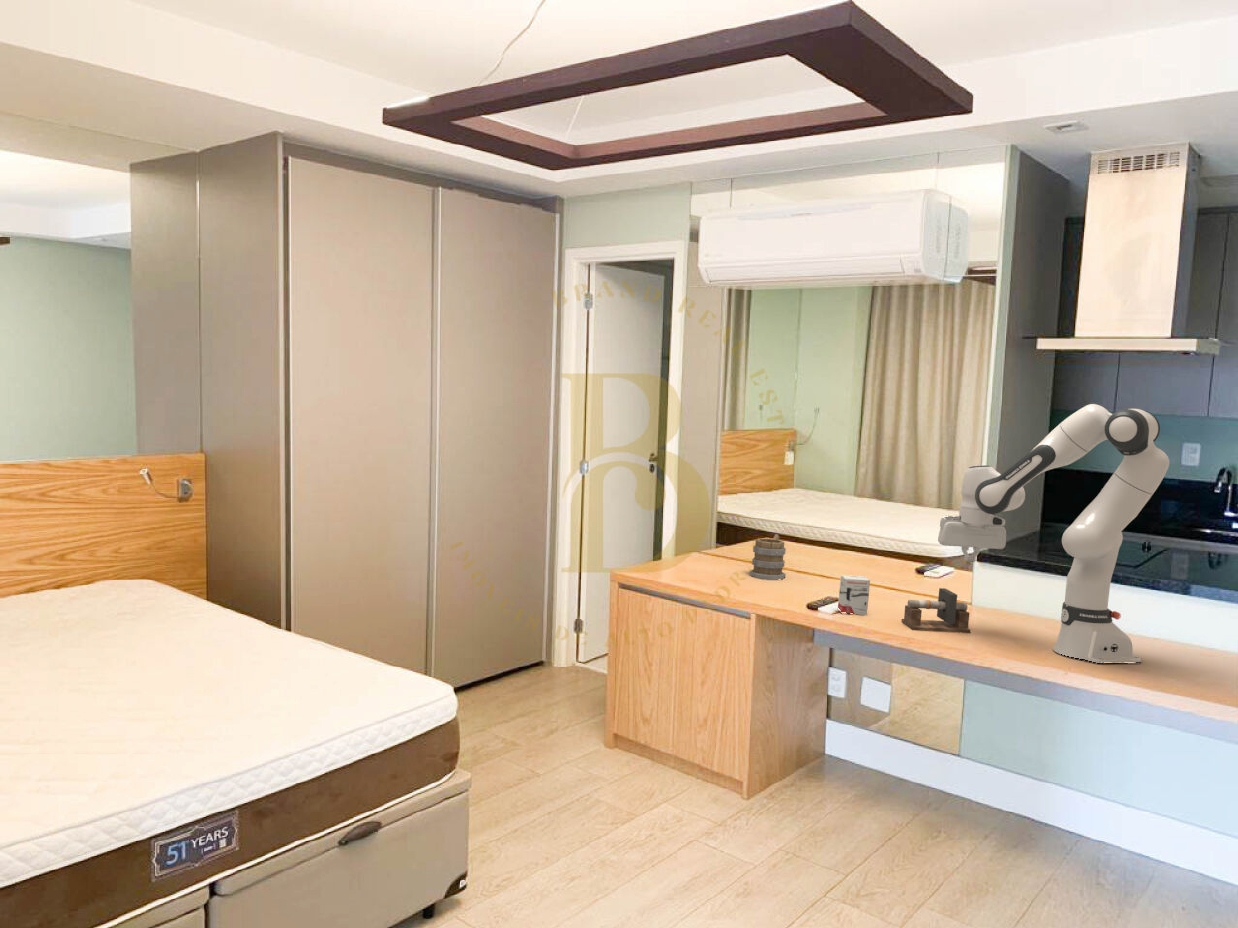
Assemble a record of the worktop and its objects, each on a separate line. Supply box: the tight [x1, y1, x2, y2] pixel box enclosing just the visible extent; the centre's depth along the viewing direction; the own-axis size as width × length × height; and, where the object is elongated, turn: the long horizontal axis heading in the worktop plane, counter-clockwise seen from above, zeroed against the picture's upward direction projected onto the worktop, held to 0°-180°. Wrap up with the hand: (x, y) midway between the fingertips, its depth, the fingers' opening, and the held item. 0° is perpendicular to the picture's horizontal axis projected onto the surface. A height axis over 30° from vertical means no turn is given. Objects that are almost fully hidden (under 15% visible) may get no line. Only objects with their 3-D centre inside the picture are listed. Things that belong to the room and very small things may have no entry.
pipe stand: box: [900, 599, 972, 634], centre depth 286 cm, size 18×10×8 cm, turn 93°
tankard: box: [748, 533, 786, 581], centre depth 354 cm, size 20×13×15 cm, turn 155°
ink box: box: [837, 574, 871, 616], centre depth 299 cm, size 8×5×12 cm, turn 92°
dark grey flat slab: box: [936, 587, 958, 624], centre depth 286 cm, size 2×9×9 cm, turn 3°
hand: (969, 561), depth 285 cm, fingers closed
